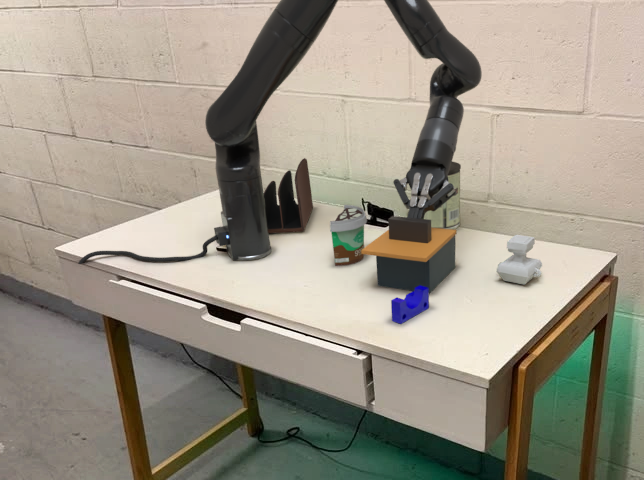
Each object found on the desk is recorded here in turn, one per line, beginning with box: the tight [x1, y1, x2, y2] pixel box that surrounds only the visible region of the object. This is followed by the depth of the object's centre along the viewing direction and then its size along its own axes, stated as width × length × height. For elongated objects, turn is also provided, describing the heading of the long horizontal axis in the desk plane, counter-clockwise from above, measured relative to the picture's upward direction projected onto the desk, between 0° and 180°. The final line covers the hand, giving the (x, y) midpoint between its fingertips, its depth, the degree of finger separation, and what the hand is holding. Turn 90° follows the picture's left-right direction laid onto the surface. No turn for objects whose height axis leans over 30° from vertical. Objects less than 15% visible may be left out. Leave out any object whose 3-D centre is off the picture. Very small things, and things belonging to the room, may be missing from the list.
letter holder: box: [263, 157, 314, 234], centre depth 171 cm, size 10×20×14 cm, turn 179°
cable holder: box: [390, 285, 430, 325], centre depth 123 cm, size 8×4×4 cm, turn 139°
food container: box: [329, 204, 368, 267], centre depth 147 cm, size 12×6×10 cm, turn 168°
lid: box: [361, 215, 458, 262], centre depth 132 cm, size 16×13×5 cm
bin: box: [375, 228, 456, 294], centre depth 137 cm, size 14×11×8 cm
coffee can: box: [424, 161, 462, 230], centre depth 163 cm, size 10×10×14 cm
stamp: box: [496, 234, 543, 286], centre depth 133 cm, size 9×7×8 cm
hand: (412, 227), depth 133 cm, fingers closed
